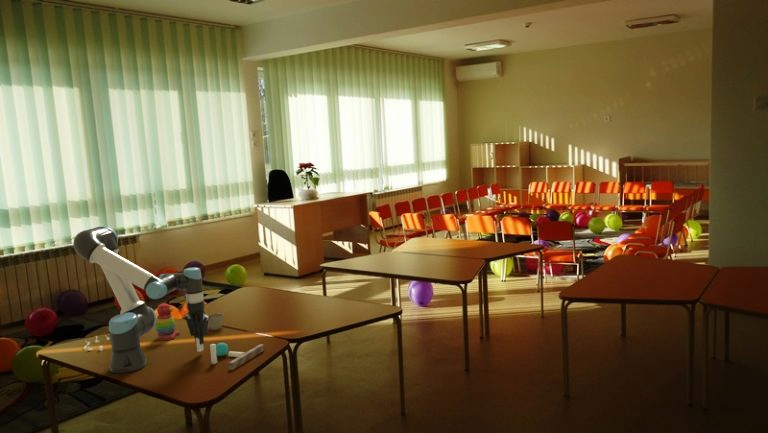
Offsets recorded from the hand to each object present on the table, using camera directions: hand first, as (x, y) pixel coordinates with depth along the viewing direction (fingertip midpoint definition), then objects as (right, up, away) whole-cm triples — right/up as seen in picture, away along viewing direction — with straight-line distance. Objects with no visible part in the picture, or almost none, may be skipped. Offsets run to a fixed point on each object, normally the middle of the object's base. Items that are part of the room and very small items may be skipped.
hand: (200, 350), depth 271 cm
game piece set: (-56, -3, +24) cm, 61 cm away
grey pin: (+10, -3, -12) cm, 16 cm away
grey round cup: (-5, +2, +40) cm, 40 cm away
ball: (+11, +1, -3) cm, 11 cm away
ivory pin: (+15, 0, -5) cm, 16 cm away
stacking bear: (-27, 0, +30) cm, 40 cm away
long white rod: (+24, -2, -11) cm, 27 cm away
